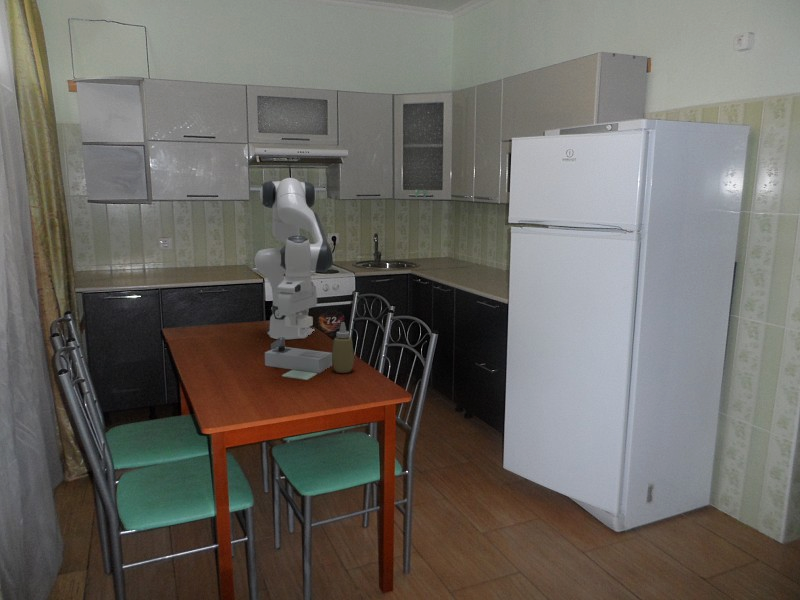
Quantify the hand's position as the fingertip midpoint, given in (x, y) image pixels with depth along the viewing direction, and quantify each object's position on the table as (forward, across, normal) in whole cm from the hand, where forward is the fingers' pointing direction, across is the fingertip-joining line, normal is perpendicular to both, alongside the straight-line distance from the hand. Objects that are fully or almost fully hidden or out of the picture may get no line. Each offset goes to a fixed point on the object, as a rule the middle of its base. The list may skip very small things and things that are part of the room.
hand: (298, 323), depth 210 cm
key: (+13, -6, -13) cm, 20 cm away
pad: (+19, 0, 0) cm, 19 cm away
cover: (+1, 0, 0) cm, 1 cm away
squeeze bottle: (+19, -11, +12) cm, 25 cm away
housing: (+19, -10, -6) cm, 22 cm away
